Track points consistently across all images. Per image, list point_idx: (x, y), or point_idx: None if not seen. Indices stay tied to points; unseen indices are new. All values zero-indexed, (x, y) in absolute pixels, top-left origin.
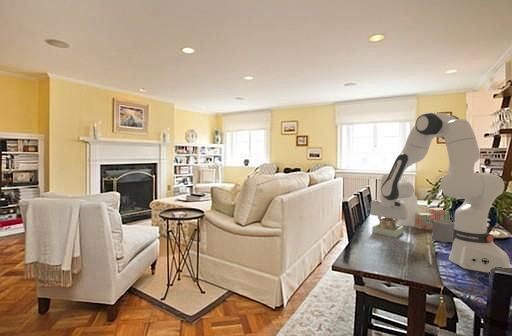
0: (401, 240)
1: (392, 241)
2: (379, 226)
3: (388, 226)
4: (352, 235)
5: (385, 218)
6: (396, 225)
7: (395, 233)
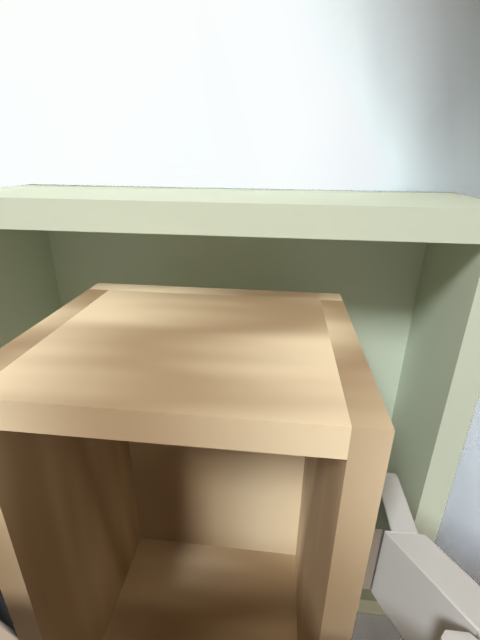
0: (460, 562)
1: (374, 625)
2: (28, 319)
3: (271, 607)
4: (12, 628)
5: (14, 454)
6: (343, 217)
7: None
